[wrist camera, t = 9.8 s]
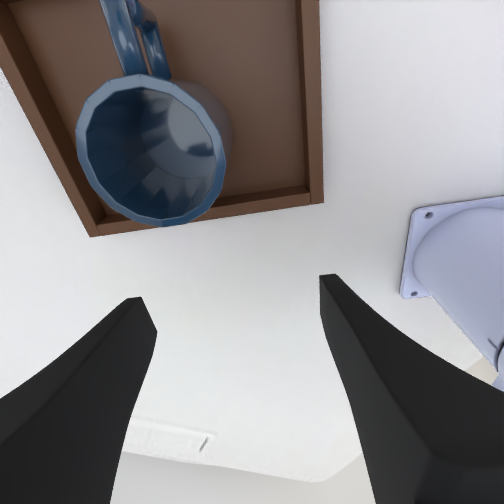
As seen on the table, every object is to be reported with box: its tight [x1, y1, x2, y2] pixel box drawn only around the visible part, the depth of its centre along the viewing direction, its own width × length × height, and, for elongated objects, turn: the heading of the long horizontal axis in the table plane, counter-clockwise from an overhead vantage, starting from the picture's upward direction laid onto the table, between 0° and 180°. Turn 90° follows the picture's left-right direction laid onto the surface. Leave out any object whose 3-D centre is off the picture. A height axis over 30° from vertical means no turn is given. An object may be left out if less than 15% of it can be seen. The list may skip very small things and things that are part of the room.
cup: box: [75, 0, 234, 227], centre depth 13 cm, size 8×6×6 cm
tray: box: [0, 0, 324, 237], centre depth 15 cm, size 15×13×2 cm
